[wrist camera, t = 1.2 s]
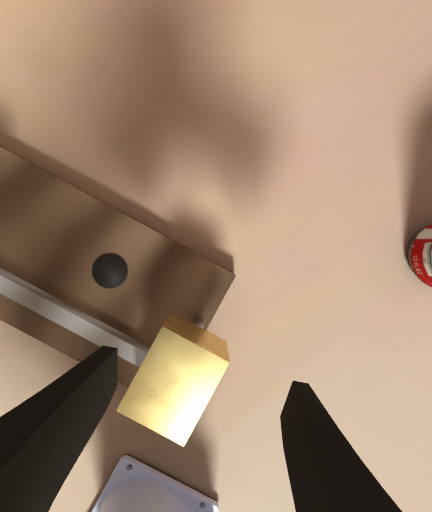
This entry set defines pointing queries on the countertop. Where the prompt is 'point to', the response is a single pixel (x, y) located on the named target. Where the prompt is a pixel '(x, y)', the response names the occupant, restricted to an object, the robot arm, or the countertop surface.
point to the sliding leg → (176, 378)
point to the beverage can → (422, 255)
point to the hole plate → (92, 270)
